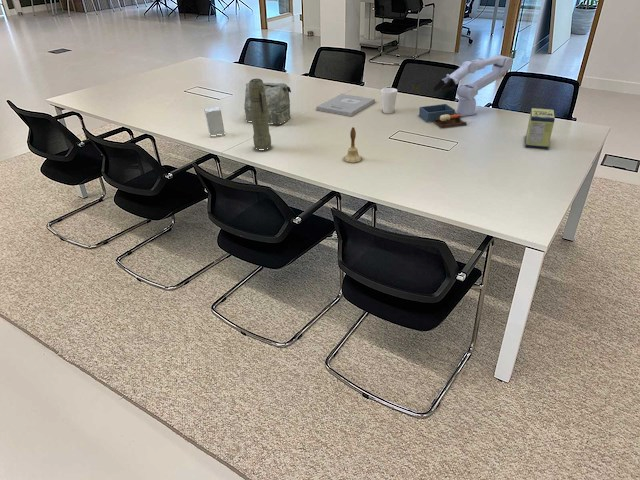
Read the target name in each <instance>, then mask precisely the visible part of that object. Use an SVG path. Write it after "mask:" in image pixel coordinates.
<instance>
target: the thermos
mask: <svg viewBox="0 0 640 480" xmlns="http://www.w3.org/2000/svg"><path fill="white" fill-rule="evenodd" d="M249 82H250V83H249ZM249 82H248V83H249V93H250V113H251V117H252V122H253V123H252V129H253V136H252V139H253V146H254V150H255V151H256V152H268V151H271V149H272V137H271V134H270V127H269V125H270V124H268V105H267V102H266V95H265V87H264V83H265V82H264V81H263V79H261V78H252V79H250V80H249ZM256 148H257V149H256ZM267 148H268V149H267ZM259 149H264V150H259Z"/></svg>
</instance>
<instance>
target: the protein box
mask: <svg viewBox="0 0 640 480" xmlns="http://www.w3.org/2000/svg"><path fill="white" fill-rule="evenodd" d="M554 124H555V111H554V108H542V107H531V110H530V113H529V118H528V123H527V128H526V133H525V148H527V149H529V148H530V149H540V150H549V146H550V142H551V137H552V133H553V129H554Z"/></svg>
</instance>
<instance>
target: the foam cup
mask: <svg viewBox="0 0 640 480" xmlns="http://www.w3.org/2000/svg"><path fill="white" fill-rule="evenodd" d="M380 95H381V102H382V104H381V105H382V113H384V114H394V112H395V107H396V101H397V96H398V89H397V88H394V87H384V88H381V92H380Z"/></svg>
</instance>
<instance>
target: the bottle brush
mask: <svg viewBox="0 0 640 480" xmlns="http://www.w3.org/2000/svg"><path fill="white" fill-rule="evenodd" d="M455 114H456V113H455ZM459 116H461V114H456V115H448V114H446V115H441V116H440V120H441V121H446V119H448V120H450V119H454V118H458V117H459ZM461 117H462V116H461Z"/></svg>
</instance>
